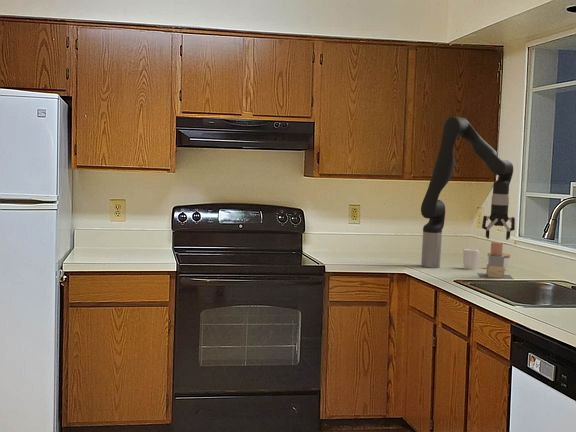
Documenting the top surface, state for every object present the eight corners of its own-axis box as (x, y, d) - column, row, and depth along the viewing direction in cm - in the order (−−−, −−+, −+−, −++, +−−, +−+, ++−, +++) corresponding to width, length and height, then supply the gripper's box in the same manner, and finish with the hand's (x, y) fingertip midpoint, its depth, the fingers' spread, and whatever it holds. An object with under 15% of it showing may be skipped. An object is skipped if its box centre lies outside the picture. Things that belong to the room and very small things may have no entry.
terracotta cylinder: (489, 254, 346) (490, 241, 345) (501, 255, 345) (502, 242, 344) (491, 256, 341) (491, 243, 340) (502, 256, 340) (503, 243, 339)
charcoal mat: (476, 274, 351) (476, 272, 351) (509, 276, 349) (509, 274, 349) (479, 279, 338) (480, 277, 338) (514, 281, 336) (514, 279, 336)
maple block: (486, 274, 348) (487, 263, 347) (501, 275, 347) (502, 264, 346) (488, 276, 341) (488, 266, 340) (504, 277, 340) (504, 266, 339)
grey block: (488, 264, 347) (488, 254, 346) (501, 264, 346) (502, 255, 345) (489, 265, 341) (490, 256, 340) (503, 266, 340) (504, 256, 339)
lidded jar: (511, 269, 372) (512, 250, 371) (506, 272, 362) (507, 253, 362) (490, 267, 377) (491, 248, 376) (484, 269, 368) (485, 250, 367)
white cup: (458, 268, 367) (460, 248, 366) (472, 268, 370) (473, 248, 369) (468, 271, 360) (469, 251, 359) (482, 271, 362) (483, 250, 361)
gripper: (514, 204, 343) (512, 239, 345) (482, 202, 345) (480, 237, 347) (517, 205, 336) (514, 241, 337) (484, 203, 338) (482, 239, 339)
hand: (497, 239), depth 342 cm, fingers open, 8 cm apart
